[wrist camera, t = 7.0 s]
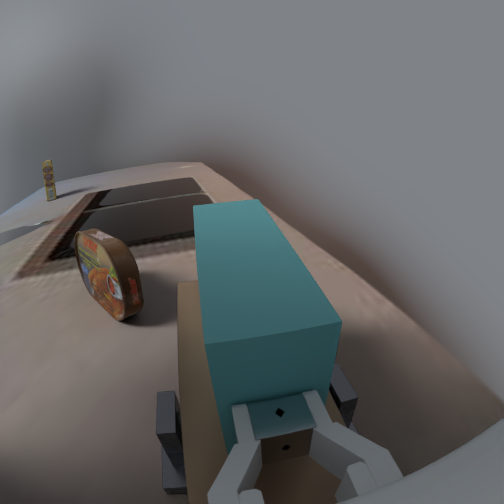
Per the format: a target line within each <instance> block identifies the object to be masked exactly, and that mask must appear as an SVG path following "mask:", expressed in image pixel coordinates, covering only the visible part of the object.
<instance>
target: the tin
mask: <svg viewBox="0 0 504 504" xmlns="http://www.w3.org/2000/svg"><path fill="white" fill-rule="evenodd" d="M74 243H75V253H76V259H77V263H78V267H79V270H80V273H81V276H82V279H83V282H84V284H85V286H86V288H87V290H88V292H89V293H90V295H91V296H92V297H93V298H94V299H95V300H96V301H97V302H98V303H99V304H100V305H101V306H102V307H103V308H104V309H105V310H106V311H107V312H108V313H109V314H110V315H111V316H112V317H113V318H114V319H116V320H118V321H122V320H123V319H124V318H127V317H129V316H131V315H134V314H136V313H138V312H139V311H140V310H141V309H142V307H143V304H144V300H143V295H142V288H141V282H140V277H139V270H138V267H137V264H136V261H135V259H134V257H133V255H132V253H131V251H130V250H129V248H128V247H127V246H126V245H125V244H124V243H123V242H122V241H121V240H118V239H117V238H115V237H113V236H111V235H108V234H106V233H104V232H102V231H100V230H98V229H89V230H86V231H82V232H77V233H76V235H75V239H74Z"/></svg>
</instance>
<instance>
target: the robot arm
mask: <svg viewBox="0 0 504 504" xmlns="http://www.w3.org/2000/svg"><path fill="white" fill-rule="evenodd" d="M231 407H232V413H233V420H234V426H235V432H236V437H237V442H238V444H234V446H233V448H232V450H231V452H230V454H229V456H228V458H227V459H226V461H225V463H224V465H223V467H222V469H221V470H220V472H219V474H218V476H217V478H216V479H215V481H214V483H213V485H212V487H211V488H210V490H209V492H208V494H207V496H208V503H209V504H264V500H263V496H262V493H261V491H259V490H257V489H253V488H254V486H255V483H256V481H257V478H258V476H259V473H260V471H261V468H262V465H264V464H268V463H273V462H277V461H282V460H286V459H291V458H296V457H300V456H305V455H309V456H310V457H311V458H312V459H313V460H315V461H316V462H317V463H319V464H320V465H321V466H323V467H324V468H325V469H327V470H328V471H329V472H331V473H332V474H333V475H335V476H336V477H338V478H339V479H340V480H342V481H341V483H340V485H339V487H338V489H337V491H336V493H335V498H336V500H337V503H336V504H504V417H503V418H502V419H500V420H499V421H498V422H496V423H495V424H493V425H492V426H491V427H489V428H488V429H486V430H485V431H484V432H482V433H481V434H479V435H478V436H476V437H475V438H473V439H472V440H470V441H468V442H467V443H465V444H464V445H462V446H460V447H459V448H457V449H456V450H454V451H452V452H450V453H449V454H447V455H445V456H444V457H442V458H440V459H438V460H436V461H435V462H433V463H431V464H429V465H427V466H425V467H423V468H421V469H419V470H417V471H415V472H413V473H411V474H409V475H407V476H405V477H403V475H402V473H401V471H400V470H399V468H398V466H397V464H396V463H395V461H394V459H393V457H392V456H391V454H390V452H389V451H388V450H387V449H385V448H383V447H381V446H379V445H377V444H376V443H374V442H372V441H370V440H368V439H366V438H364V437H363V436H361V435H359V434H357V433H355V432H353V431H352V430H350V429H348V428H346V427H345V426H343V425H341V424H339V423H338V422H335V423H333V422H332V420H331V418H330V416H329V414H328V412H327V410H326V408H325V406H324V404H323V402H322V400H321V398H320V396H319V394H318V392H317V391H316V390H311V391H307V392H303V393H297V394H293V395H288V396H284V397H279V398H274V399H272V400H265V401H259V402H252V403H245V404H238V405H232V406H231Z"/></svg>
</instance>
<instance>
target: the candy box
mask: <svg viewBox="0 0 504 504" xmlns="http://www.w3.org/2000/svg"><path fill="white" fill-rule="evenodd" d="M42 166H43V175H44V182H45V189H46V195H47V201H51V200H55V199H57V198H56V189H55V182H54V174H53V167H52V160H47V161H44V162H42Z"/></svg>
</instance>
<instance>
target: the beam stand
mask: <svg viewBox="0 0 504 504" xmlns="http://www.w3.org/2000/svg"><path fill="white" fill-rule="evenodd" d="M329 390H330V393H331V396H332V398H333V400H334V402H335V404H336V406H337V408H338V410H339V412H340V414H341V416H342V418H343V420H344V422H345V425H346V427H347V428H348V429H350V430H352V431H353V432H355V433H357V434H358V432H357V430H356V428H355V426H354V425H353V423H352V421H351V420H352V417H353V414H354V410H355V407H356V403H357V400H358V396H357V394H356V393H355V391H354V389H353V388H352V386H351V384H350V383H349V381H348V379H347V378H346V376H345V374H344V373H343V371H342V369H341V368H340V366H339V365H338V363H334V368H333V373H332V378H331V382H330V387H329ZM178 411H180V406H179V403H178V400H177V397H176V394H175V391H165V392H157V420H156V434H157V436H158V438H159V440H160V442H161V444H162V477H163V489H164V490H165V492H166V493H167V494H184V493H188V492H187V483H186V474H185V464H184V453H183V441H182V430H181V428H180V424H179V418H178Z"/></svg>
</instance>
